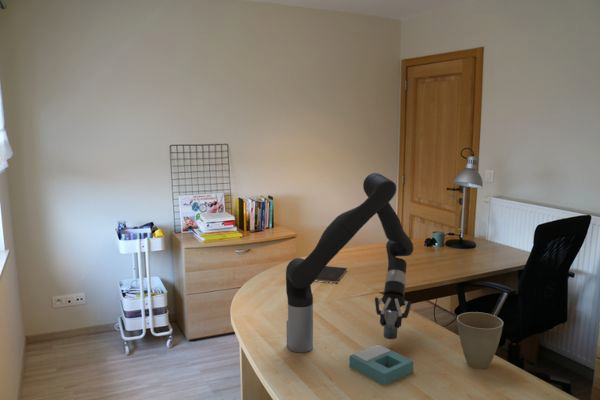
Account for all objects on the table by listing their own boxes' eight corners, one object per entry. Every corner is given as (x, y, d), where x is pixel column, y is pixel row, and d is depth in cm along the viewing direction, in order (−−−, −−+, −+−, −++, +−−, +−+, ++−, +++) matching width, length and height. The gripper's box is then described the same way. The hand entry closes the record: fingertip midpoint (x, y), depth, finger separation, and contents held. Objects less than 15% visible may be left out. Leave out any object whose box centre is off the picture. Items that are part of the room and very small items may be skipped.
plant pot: (490, 353, 183) (492, 311, 181) (508, 374, 169) (511, 328, 166) (449, 354, 183) (451, 312, 180) (463, 374, 168) (465, 329, 166)
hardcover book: (347, 272, 281) (347, 268, 281) (336, 285, 260) (336, 280, 259) (319, 269, 286) (319, 265, 286) (306, 281, 265) (306, 277, 264)
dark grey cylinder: (380, 335, 188) (381, 310, 186) (389, 332, 191) (390, 307, 190) (390, 340, 184) (391, 314, 183) (400, 336, 187) (401, 311, 186)
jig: (349, 366, 174) (349, 354, 173) (377, 354, 183) (378, 342, 182) (384, 385, 162) (384, 372, 161) (413, 372, 170) (413, 359, 170)
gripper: (375, 277, 194) (369, 319, 184) (414, 281, 190) (410, 324, 180) (377, 286, 199) (371, 328, 190) (414, 290, 195) (410, 332, 186)
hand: (390, 326), depth 185 cm, fingers closed on dark grey cylinder, 5 cm apart
